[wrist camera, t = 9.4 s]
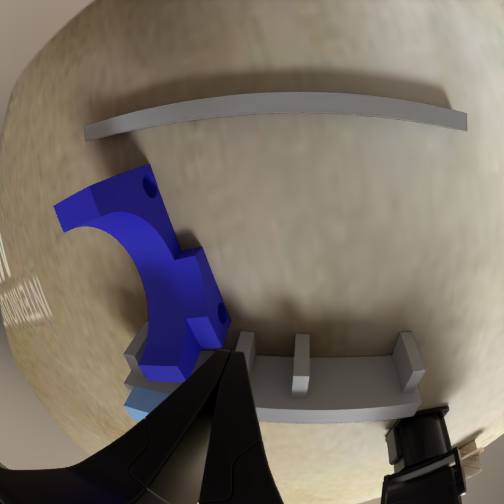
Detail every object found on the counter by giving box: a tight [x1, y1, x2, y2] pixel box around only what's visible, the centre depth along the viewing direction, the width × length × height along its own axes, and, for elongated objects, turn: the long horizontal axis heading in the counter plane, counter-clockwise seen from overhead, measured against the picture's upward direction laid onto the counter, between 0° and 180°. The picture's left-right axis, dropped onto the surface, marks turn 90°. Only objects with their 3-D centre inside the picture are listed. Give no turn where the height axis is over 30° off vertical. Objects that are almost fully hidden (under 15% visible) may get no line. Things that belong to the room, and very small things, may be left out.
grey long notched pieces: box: [84, 92, 467, 424], centre depth 14 cm, size 22×20×7 cm
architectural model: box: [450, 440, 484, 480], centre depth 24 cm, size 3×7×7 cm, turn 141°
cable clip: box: [54, 164, 231, 383], centre depth 16 cm, size 12×4×6 cm, turn 16°
